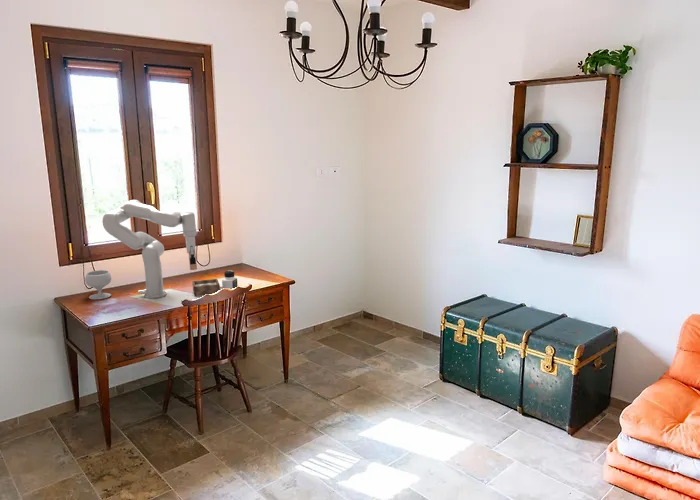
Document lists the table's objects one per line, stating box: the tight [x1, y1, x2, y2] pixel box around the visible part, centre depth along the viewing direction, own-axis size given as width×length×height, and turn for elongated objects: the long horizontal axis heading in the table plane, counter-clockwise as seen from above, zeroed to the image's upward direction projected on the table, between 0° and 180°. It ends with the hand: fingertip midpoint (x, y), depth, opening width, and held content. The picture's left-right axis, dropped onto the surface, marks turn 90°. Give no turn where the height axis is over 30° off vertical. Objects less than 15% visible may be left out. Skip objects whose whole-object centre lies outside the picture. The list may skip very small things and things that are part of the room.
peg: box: [187, 251, 198, 271], centre depth 302 cm, size 4×4×12 cm
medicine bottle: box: [221, 270, 239, 289], centre depth 316 cm, size 7×7×12 cm
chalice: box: [84, 270, 112, 300], centre depth 301 cm, size 14×14×15 cm
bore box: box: [192, 278, 221, 297], centre depth 311 cm, size 15×14×6 cm
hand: (192, 263), depth 303 cm, fingers closed on peg, 4 cm apart
